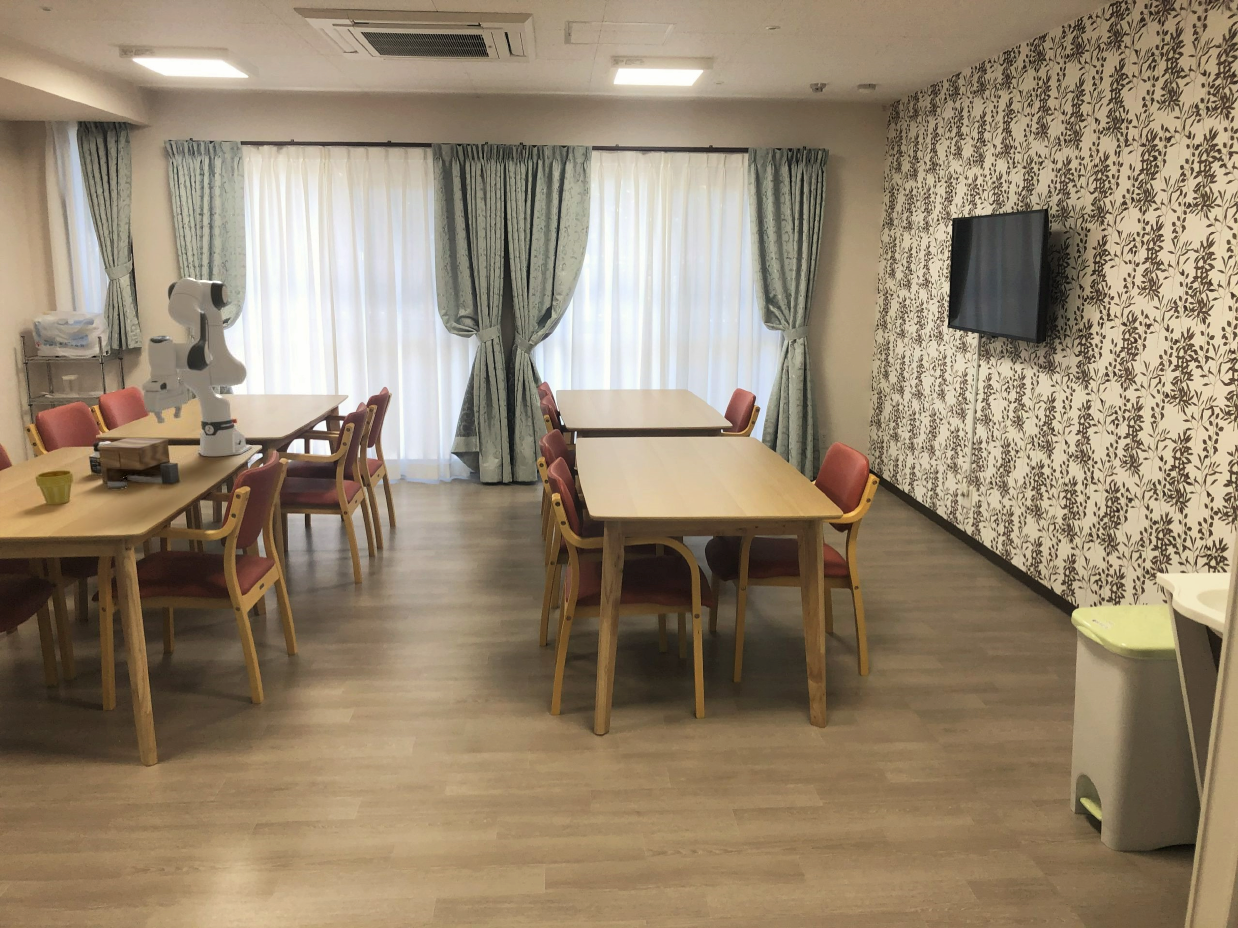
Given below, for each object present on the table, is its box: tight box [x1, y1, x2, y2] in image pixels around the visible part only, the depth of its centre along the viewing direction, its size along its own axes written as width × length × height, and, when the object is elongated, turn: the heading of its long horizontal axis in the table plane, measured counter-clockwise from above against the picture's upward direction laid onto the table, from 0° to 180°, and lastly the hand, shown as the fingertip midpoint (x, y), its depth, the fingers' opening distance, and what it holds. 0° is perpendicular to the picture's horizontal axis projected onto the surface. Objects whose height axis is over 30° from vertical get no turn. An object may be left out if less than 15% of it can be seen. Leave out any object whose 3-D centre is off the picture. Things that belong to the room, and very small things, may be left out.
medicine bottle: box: [88, 440, 111, 476], centre depth 342 cm, size 7×7×12 cm
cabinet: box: [97, 437, 171, 484], centre depth 333 cm, size 17×16×14 cm
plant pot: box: [35, 469, 74, 506], centre depth 300 cm, size 10×10×10 cm
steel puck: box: [106, 478, 128, 490], centre depth 321 cm, size 6×6×2 cm
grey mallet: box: [126, 462, 181, 485], centre depth 330 cm, size 4×20×7 cm, turn 73°
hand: (169, 420), depth 327 cm, fingers open, 8 cm apart
